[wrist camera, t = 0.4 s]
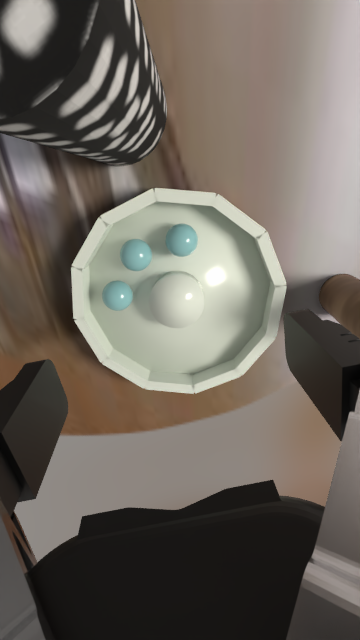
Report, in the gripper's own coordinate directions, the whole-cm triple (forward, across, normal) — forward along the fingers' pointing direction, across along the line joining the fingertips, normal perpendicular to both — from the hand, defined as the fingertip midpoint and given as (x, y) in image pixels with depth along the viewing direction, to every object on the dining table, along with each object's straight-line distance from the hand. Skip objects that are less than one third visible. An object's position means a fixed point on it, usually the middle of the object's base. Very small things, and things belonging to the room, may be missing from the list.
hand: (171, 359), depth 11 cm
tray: (+21, -1, +5) cm, 22 cm away
